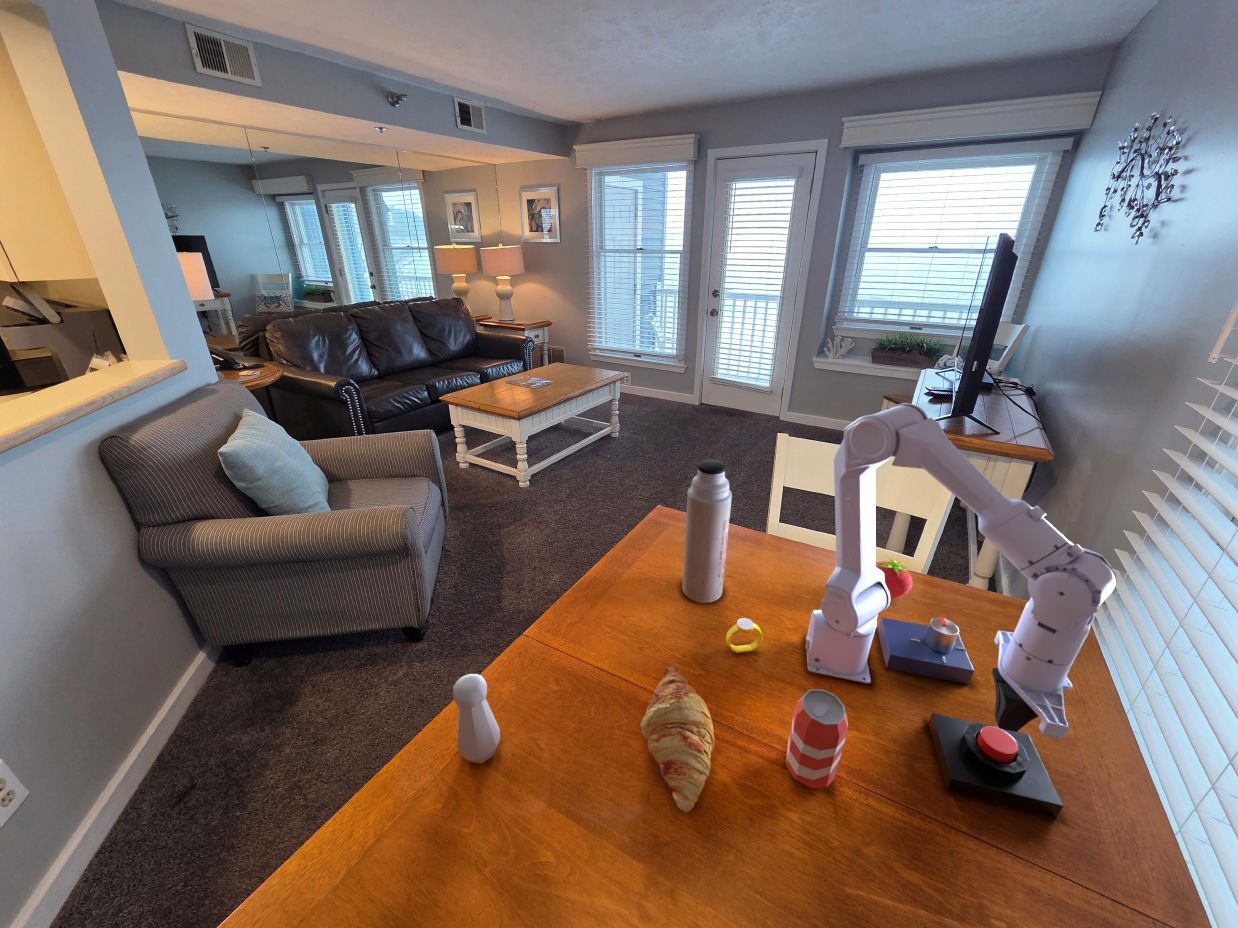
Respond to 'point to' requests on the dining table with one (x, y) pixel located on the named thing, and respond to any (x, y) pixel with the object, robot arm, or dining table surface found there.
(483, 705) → the salt shaker
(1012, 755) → the button
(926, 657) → the dial panel
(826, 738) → the beverage can
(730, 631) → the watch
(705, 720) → the croissant
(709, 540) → the thermos bottle
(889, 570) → the strawberry
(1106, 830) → the dining table surface
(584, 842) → the dining table surface
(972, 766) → the button box
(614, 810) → the dining table surface
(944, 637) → the dial knob
